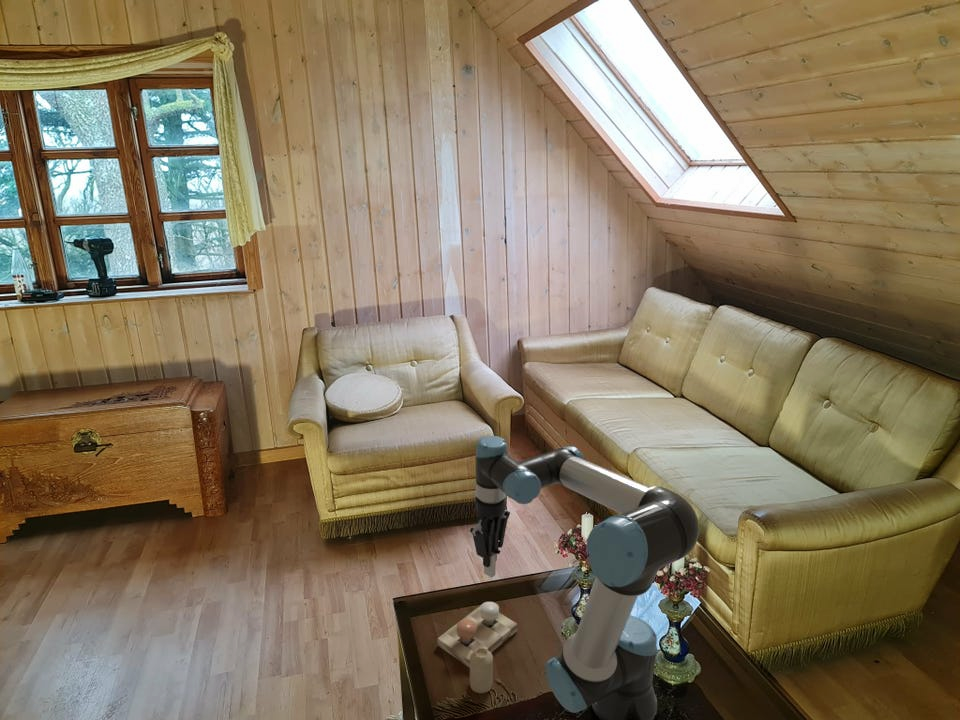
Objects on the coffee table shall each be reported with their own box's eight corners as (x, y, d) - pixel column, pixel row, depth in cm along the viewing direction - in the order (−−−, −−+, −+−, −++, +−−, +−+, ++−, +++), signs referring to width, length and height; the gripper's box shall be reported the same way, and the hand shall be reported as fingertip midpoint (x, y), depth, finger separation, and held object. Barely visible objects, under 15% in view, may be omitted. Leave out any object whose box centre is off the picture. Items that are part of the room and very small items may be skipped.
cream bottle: (490, 695, 171) (490, 663, 167) (467, 691, 172) (467, 659, 168) (494, 677, 176) (494, 646, 172) (472, 674, 177) (472, 642, 173)
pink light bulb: (480, 640, 185) (480, 625, 183) (466, 651, 181) (466, 636, 179) (465, 631, 188) (465, 616, 186) (452, 641, 184) (452, 626, 183)
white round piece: (502, 622, 191) (502, 607, 189) (490, 632, 187) (490, 617, 186) (488, 613, 194) (488, 599, 192) (476, 623, 191) (476, 608, 189)
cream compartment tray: (517, 630, 191) (517, 623, 190) (471, 669, 178) (471, 661, 178) (483, 610, 198) (483, 603, 198) (437, 645, 186) (437, 638, 185)
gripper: (496, 480, 183) (495, 556, 192) (461, 501, 174) (461, 579, 183) (519, 491, 179) (516, 568, 187) (484, 513, 170) (483, 593, 178)
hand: (489, 574), depth 185 cm, fingers closed
